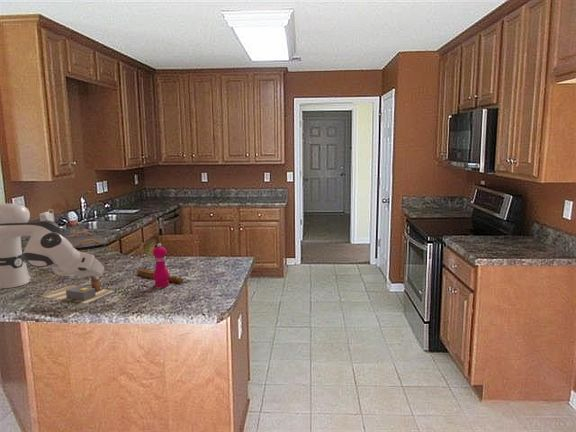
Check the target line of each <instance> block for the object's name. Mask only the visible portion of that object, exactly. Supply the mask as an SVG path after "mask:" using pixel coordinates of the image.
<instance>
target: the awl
mask: <svg viewBox="0 0 576 432" xmlns="http://www.w3.org/2000/svg"><path fill="white" fill-rule="evenodd" d="M90 283H91V288H95V292H99V291H100V289H101V281H100V278H99V279H94V278H93V276H90Z"/></svg>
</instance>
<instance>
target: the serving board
mask: <svg viewBox="0 0 576 432" xmlns="http://www.w3.org/2000/svg"><path fill="white" fill-rule="evenodd" d="M81 234H83V235H81ZM65 238H66V239H67V240H68V241H69V242H70V243H71V244H72V246H73V248H75V249H77V248H88V247H95V246H102V247H104V248H105V247H106V244H108V241H107V240H106V239H105V238H104V237H103V236H102V235H101V234H100V233H99V234H98V233H96V234H95V233H94V234H93V233H91V232H89V231H84V230H83V231H78V232H75V233H74V234H72V236H70V237H65Z"/></svg>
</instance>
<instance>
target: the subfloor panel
mask: <svg viewBox="0 0 576 432" xmlns="http://www.w3.org/2000/svg"><path fill="white" fill-rule="evenodd" d="M76 286H77V285H73V284H69V285H67V286H64V287H62V288H59V289H56V290H53V291H51V292H48V293H46V294H43V295H40V297H42V298H48V299H55V300H60V301H68V302H74V303H80V304H81V303H82V304H89V303H91V302H92V301H95V300H97V299H100V298H102V297H104V296H107V295H109V294H112V293H113V292H115V290H111V289H103V288H100V291H99V292H95V293H96V296H95V297H93V298H90V299H88V300H86V301H82V300H76V299H69V298H67V296H66V290H68V289H71V288H73V287H76Z"/></svg>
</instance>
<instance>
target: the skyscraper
mask: <svg viewBox="0 0 576 432" xmlns="http://www.w3.org/2000/svg"><path fill="white" fill-rule="evenodd" d="M50 211H52V213H51V212H50ZM38 215H39V219H40V220H39V221H45V220H47V221H53V222H55V215H54V209H52V208H49V209H48V210H47V211H44V212H41V213H39V214H38Z"/></svg>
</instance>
